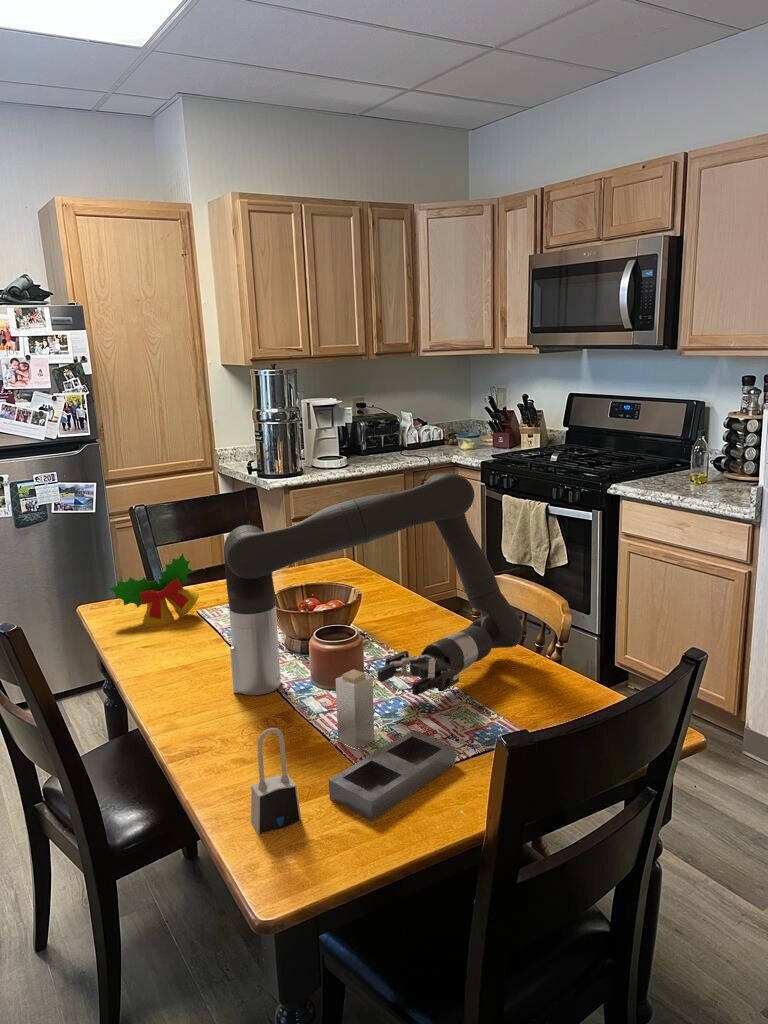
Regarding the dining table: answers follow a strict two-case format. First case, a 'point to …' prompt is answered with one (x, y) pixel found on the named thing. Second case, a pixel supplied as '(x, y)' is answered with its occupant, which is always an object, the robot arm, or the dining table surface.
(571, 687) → the dining table surface
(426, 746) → the cinder block
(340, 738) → the grey rectangular block
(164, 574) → the ornament
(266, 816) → the padlock
